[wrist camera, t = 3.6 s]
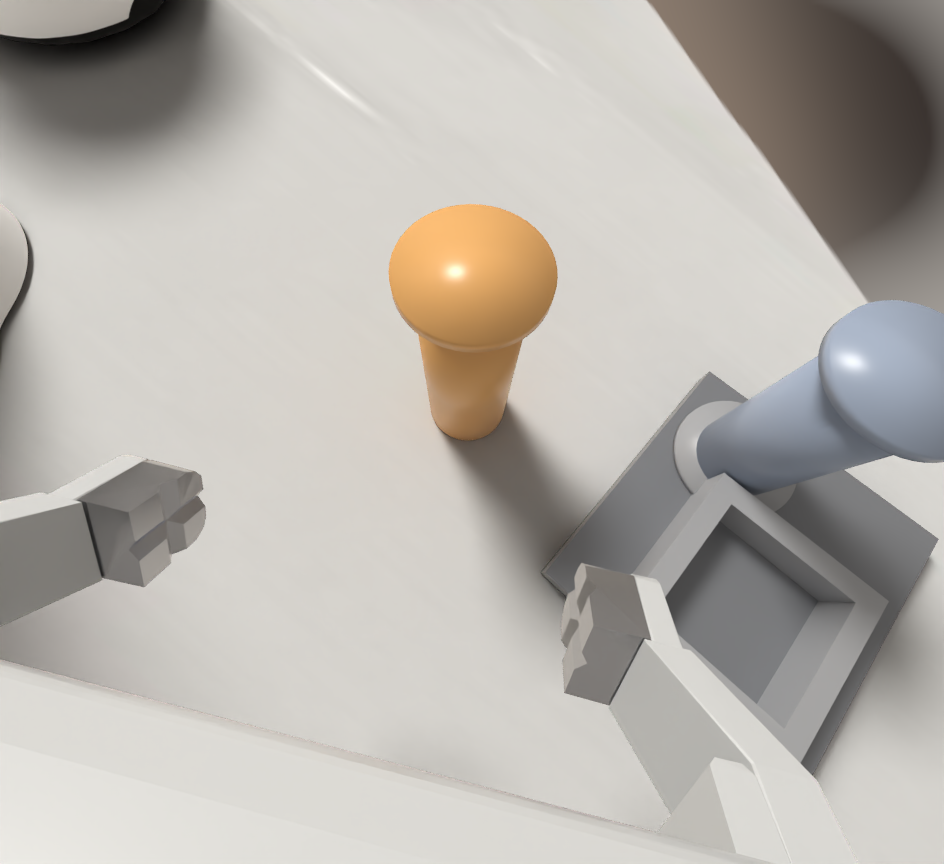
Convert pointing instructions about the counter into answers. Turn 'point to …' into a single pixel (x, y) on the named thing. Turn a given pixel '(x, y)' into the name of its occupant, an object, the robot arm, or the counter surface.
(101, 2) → the milk container
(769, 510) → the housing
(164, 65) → the counter surface
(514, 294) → the pin
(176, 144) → the counter surface
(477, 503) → the counter surface
